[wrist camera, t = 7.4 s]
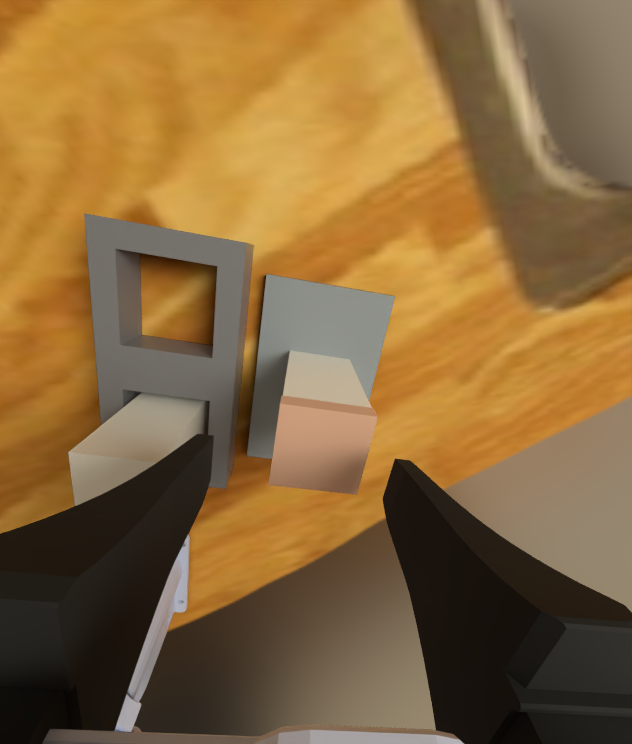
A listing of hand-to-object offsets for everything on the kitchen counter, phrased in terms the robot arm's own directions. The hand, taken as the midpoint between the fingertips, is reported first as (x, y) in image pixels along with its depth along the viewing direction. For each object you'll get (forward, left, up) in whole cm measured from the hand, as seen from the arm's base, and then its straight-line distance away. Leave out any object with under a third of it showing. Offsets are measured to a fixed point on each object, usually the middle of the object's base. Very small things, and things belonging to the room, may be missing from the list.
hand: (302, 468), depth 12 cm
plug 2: (0, -1, -9) cm, 9 cm away
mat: (0, -1, -10) cm, 10 cm away
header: (0, +8, -10) cm, 13 cm away
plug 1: (-4, +8, -10) cm, 13 cm away
